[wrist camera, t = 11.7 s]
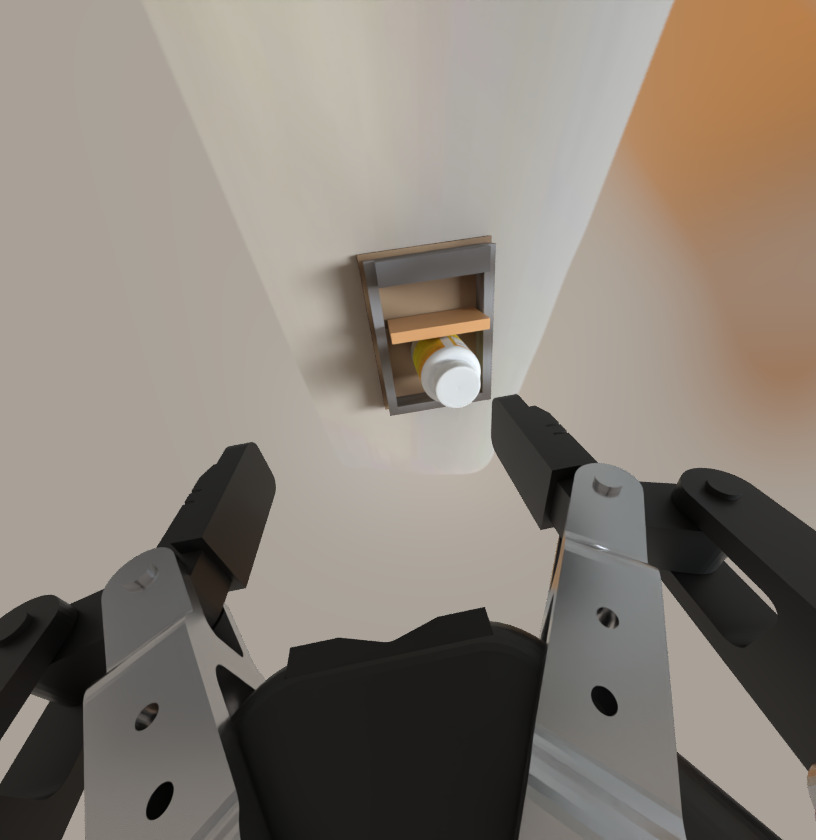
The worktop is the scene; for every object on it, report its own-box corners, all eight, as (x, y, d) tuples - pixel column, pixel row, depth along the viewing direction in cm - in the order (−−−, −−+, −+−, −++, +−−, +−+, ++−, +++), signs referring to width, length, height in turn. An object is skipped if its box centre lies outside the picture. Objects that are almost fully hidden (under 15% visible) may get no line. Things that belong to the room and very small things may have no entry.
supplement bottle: (409, 372, 35) (424, 418, 27) (410, 323, 32) (427, 358, 24) (456, 370, 36) (485, 414, 27) (461, 322, 33) (495, 355, 24)
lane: (356, 254, 29) (355, 258, 25) (488, 235, 29) (508, 236, 25) (385, 406, 38) (387, 427, 34) (485, 389, 39) (499, 408, 35)
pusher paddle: (387, 320, 31) (390, 333, 27) (473, 306, 32) (490, 318, 28) (388, 329, 32) (392, 344, 28) (473, 316, 32) (489, 329, 28)
